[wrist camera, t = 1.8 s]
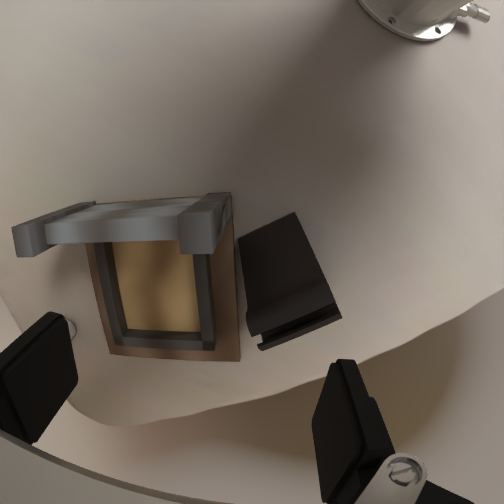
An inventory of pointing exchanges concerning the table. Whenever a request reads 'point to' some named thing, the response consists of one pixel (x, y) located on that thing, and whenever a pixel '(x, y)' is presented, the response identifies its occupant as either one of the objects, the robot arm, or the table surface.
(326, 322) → the phone stand
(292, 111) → the table surface
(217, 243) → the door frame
